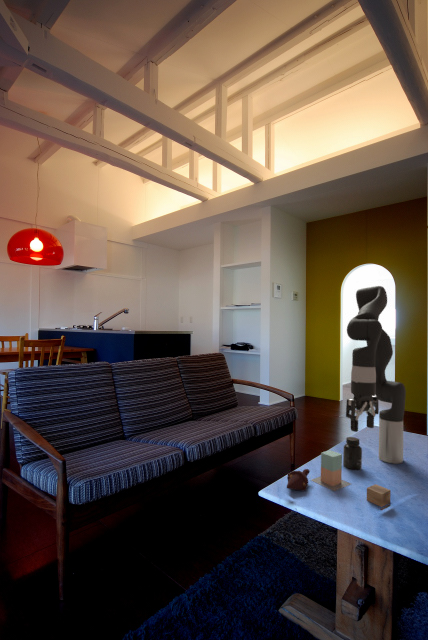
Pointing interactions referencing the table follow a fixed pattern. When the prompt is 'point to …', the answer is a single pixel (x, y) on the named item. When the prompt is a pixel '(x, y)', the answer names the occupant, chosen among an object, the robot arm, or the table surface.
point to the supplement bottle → (352, 454)
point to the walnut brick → (378, 495)
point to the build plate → (334, 488)
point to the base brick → (331, 476)
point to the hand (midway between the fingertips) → (362, 429)
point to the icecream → (298, 480)
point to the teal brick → (331, 460)
